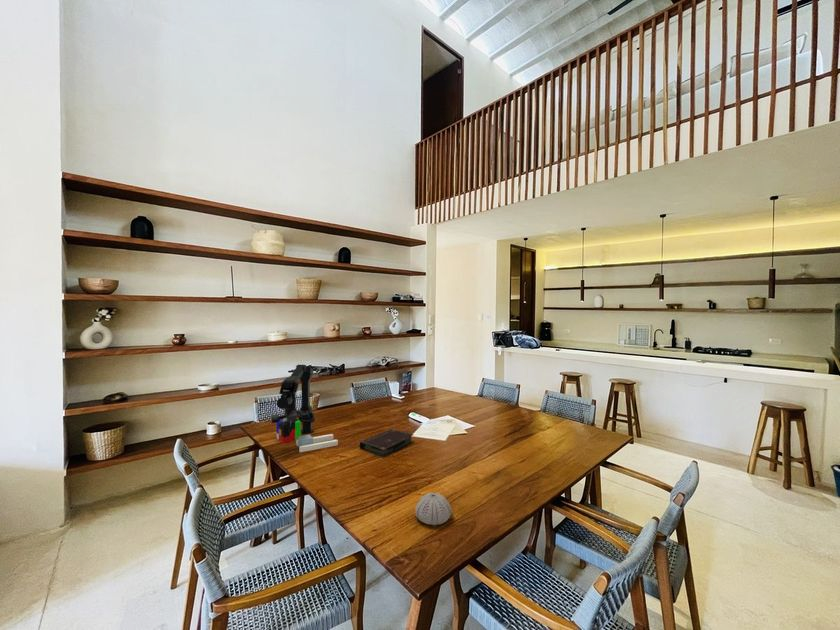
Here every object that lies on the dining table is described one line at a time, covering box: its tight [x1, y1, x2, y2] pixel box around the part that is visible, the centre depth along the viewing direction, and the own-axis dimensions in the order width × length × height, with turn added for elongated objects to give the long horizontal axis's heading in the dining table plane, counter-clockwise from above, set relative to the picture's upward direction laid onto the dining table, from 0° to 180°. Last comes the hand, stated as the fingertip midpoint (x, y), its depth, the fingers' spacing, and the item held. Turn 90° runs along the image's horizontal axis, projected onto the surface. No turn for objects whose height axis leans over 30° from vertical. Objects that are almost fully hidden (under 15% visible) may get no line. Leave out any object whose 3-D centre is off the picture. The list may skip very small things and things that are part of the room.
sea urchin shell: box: [414, 492, 452, 526], centre depth 125 cm, size 13×14×8 cm
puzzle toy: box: [275, 419, 302, 444], centre depth 198 cm, size 10×10×10 cm
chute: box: [295, 433, 339, 453], centre depth 189 cm, size 12×20×2 cm, turn 119°
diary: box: [358, 428, 415, 458], centre depth 189 cm, size 19×25×5 cm
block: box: [297, 434, 314, 448], centre depth 186 cm, size 6×6×6 cm
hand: (290, 432), depth 182 cm, fingers closed
